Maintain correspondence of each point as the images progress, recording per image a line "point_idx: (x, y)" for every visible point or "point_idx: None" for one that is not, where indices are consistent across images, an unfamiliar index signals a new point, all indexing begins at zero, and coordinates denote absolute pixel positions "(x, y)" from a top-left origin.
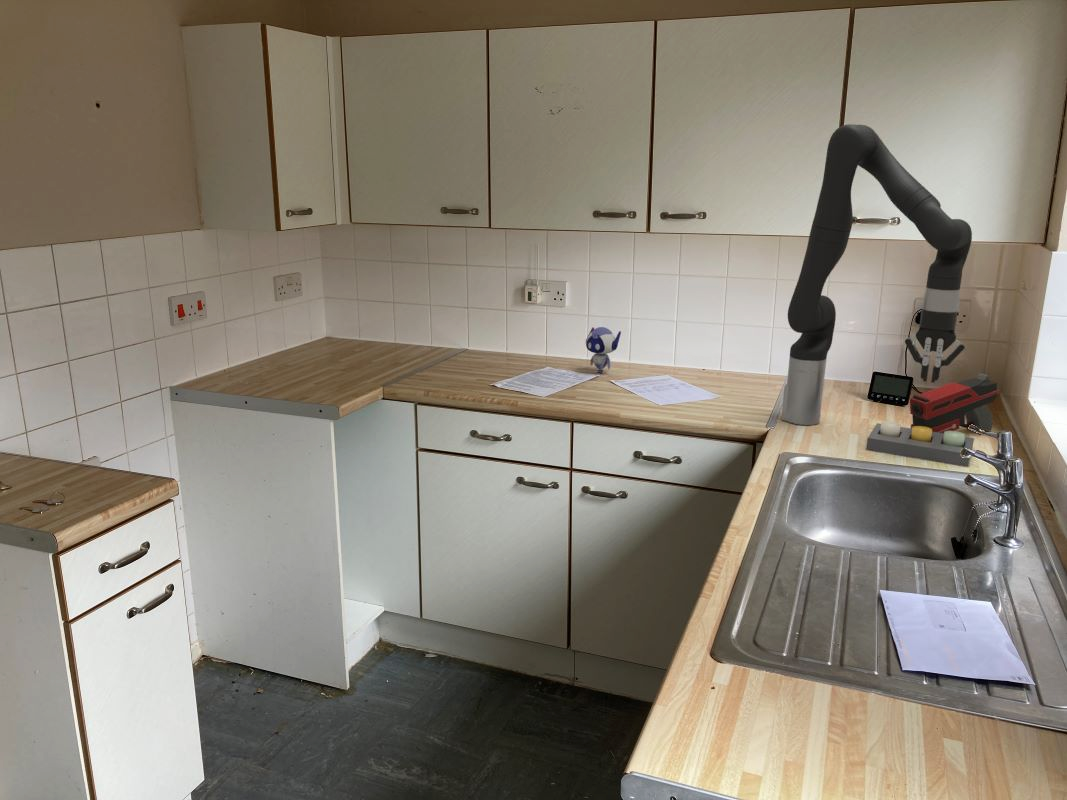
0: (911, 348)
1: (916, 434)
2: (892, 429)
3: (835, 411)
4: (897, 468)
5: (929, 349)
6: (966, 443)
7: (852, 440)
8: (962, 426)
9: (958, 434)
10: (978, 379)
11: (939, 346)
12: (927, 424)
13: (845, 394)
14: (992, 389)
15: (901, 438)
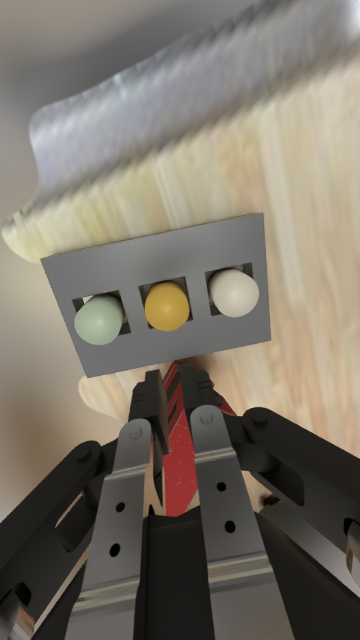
0: (353, 479)
1: (171, 286)
2: (225, 275)
3: (352, 408)
4: (155, 118)
5: (204, 510)
6: None
7: (291, 259)
8: None
9: (88, 324)
10: None
11: (116, 579)
12: (179, 378)
13: None
14: None
15: (198, 267)
